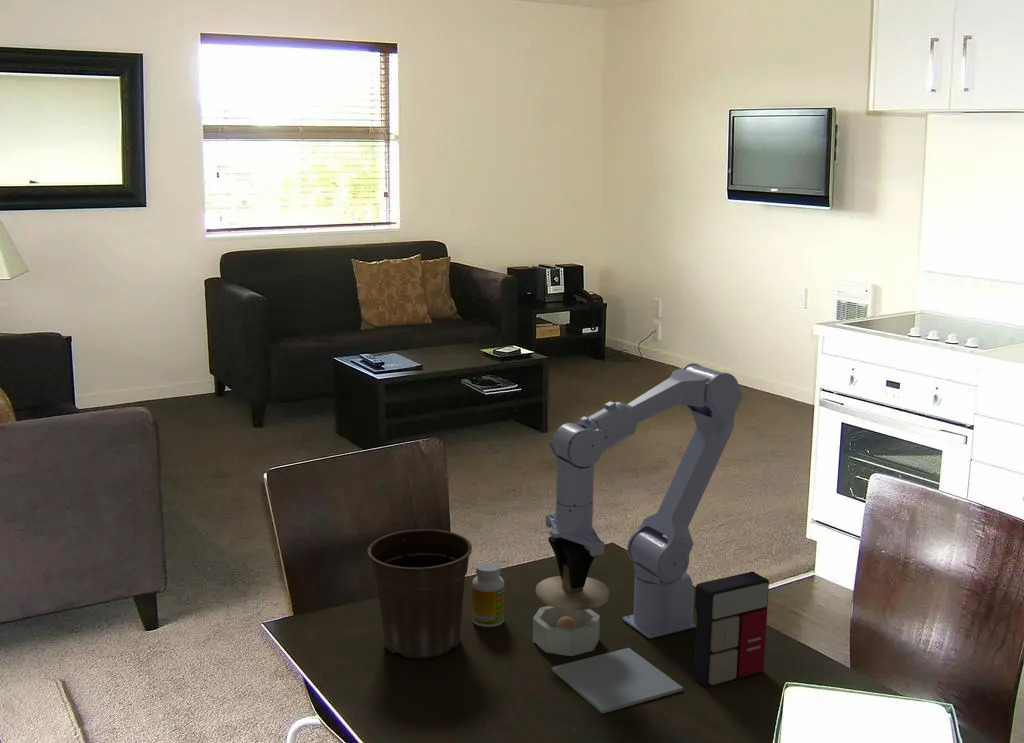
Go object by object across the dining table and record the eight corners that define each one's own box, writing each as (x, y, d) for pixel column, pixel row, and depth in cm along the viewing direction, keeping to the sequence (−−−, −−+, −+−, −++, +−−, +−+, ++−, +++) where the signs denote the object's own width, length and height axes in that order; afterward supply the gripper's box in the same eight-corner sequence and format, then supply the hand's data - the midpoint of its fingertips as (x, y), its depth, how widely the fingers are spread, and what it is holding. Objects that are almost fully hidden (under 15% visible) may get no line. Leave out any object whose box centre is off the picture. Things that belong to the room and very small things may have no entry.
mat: (628, 650, 164) (628, 647, 164) (682, 690, 152) (683, 687, 152) (551, 670, 157) (551, 667, 157) (602, 713, 145) (602, 710, 145)
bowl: (576, 621, 174) (576, 599, 173) (609, 646, 165) (610, 623, 164) (523, 634, 169) (524, 611, 168) (554, 660, 161) (555, 636, 160)
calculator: (708, 690, 152) (713, 594, 149) (690, 677, 156) (695, 583, 153) (767, 673, 157) (773, 580, 154) (748, 661, 161) (753, 570, 158)
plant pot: (384, 674, 156) (382, 573, 153) (359, 629, 171) (357, 536, 167) (486, 656, 162) (486, 558, 158) (453, 614, 176) (453, 523, 173)
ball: (569, 629, 169) (570, 611, 168) (579, 637, 166) (580, 619, 166) (552, 633, 168) (552, 615, 167) (562, 641, 165) (563, 623, 164)
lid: (584, 575, 172) (585, 547, 171) (623, 601, 162) (624, 572, 161) (522, 587, 166) (523, 559, 165) (558, 615, 156) (559, 585, 155)
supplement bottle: (500, 629, 171) (500, 574, 169) (468, 626, 172) (468, 571, 170) (507, 615, 176) (507, 561, 174) (476, 612, 177) (476, 558, 175)
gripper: (529, 491, 165) (528, 571, 168) (576, 519, 153) (574, 605, 156) (567, 485, 168) (566, 564, 171) (616, 512, 156) (614, 597, 159)
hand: (572, 583), depth 164 cm, fingers closed on lid, 2 cm apart
